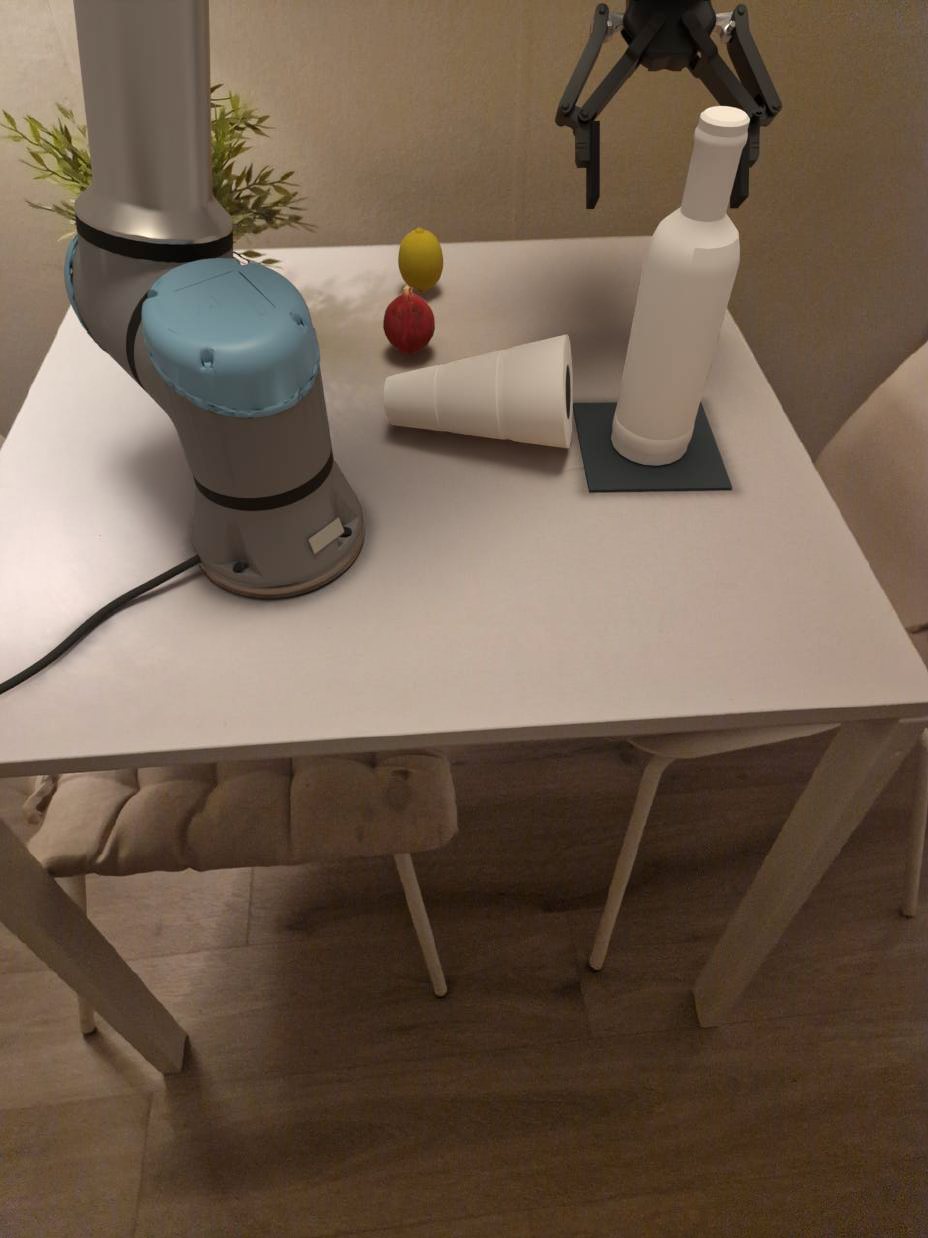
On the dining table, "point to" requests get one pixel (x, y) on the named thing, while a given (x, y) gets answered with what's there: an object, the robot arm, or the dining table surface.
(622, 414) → the bottle
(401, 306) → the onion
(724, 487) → the mat
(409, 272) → the lemon
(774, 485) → the dining table surface
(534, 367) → the cup
